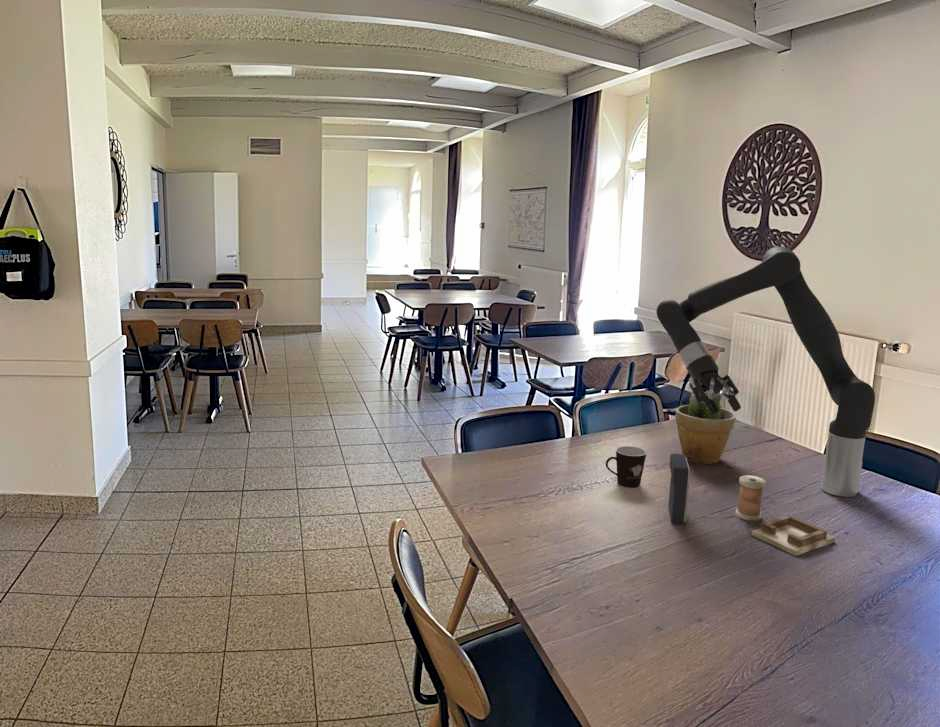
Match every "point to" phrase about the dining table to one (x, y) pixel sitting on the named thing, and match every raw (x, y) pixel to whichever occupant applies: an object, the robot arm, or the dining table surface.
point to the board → (793, 535)
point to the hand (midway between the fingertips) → (727, 411)
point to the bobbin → (750, 497)
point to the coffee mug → (629, 465)
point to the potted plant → (703, 430)
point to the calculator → (678, 488)
